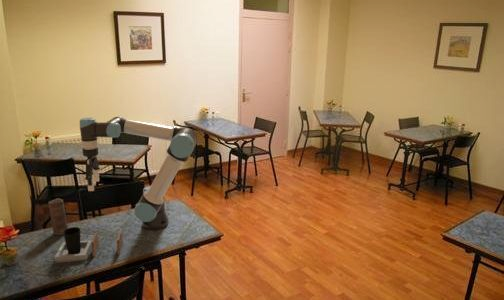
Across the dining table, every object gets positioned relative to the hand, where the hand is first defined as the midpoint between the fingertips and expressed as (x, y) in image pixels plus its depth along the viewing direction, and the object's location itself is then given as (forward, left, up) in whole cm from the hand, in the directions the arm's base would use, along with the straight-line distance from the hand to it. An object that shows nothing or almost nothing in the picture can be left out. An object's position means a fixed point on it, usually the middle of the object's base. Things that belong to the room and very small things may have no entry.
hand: (94, 185), depth 199 cm
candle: (+21, -4, -29) cm, 36 cm away
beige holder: (-8, +18, -29) cm, 35 cm away
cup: (+8, +19, -28) cm, 35 cm away
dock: (+8, +19, -29) cm, 35 cm away
